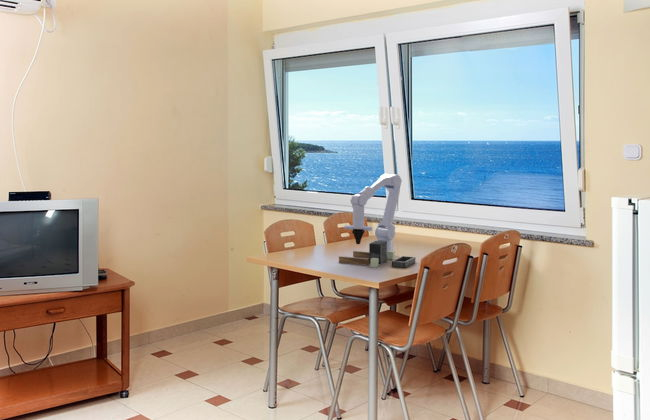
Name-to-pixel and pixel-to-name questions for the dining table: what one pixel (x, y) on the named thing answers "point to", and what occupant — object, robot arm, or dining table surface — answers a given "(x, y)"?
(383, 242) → the small box
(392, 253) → the sage goal posts
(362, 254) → the walnut tunnel rails
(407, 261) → the black pit tray
